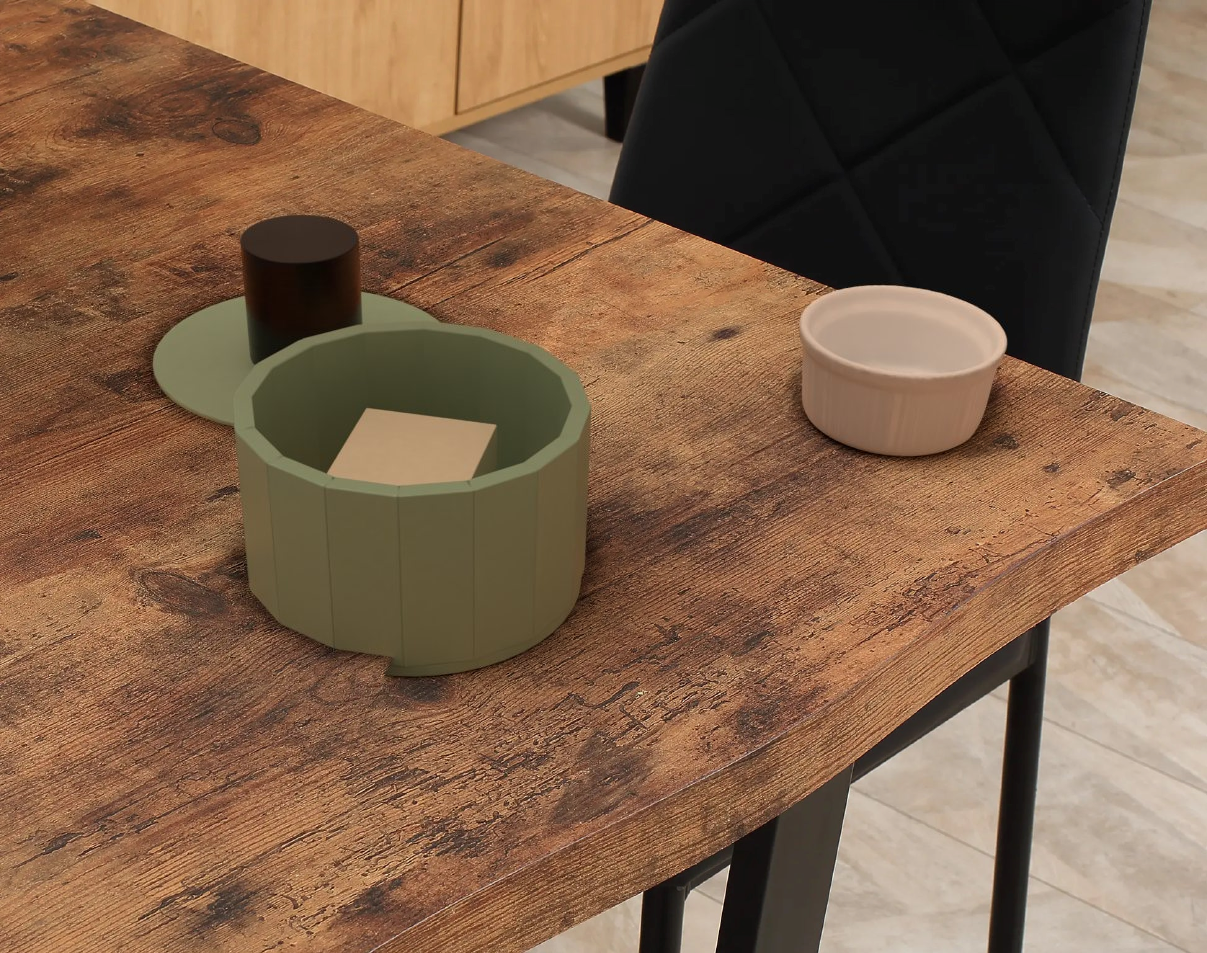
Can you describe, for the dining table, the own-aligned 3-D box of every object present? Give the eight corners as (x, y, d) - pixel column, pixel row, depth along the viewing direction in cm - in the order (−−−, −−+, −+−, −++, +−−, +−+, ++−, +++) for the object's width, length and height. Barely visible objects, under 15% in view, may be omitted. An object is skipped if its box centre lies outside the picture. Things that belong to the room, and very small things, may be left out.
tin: (199, 649, 61) (178, 466, 57) (310, 471, 71) (299, 304, 66) (543, 700, 59) (548, 516, 55) (607, 510, 69) (616, 343, 65)
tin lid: (105, 429, 73) (85, 285, 69) (219, 294, 84) (206, 164, 80) (413, 470, 71) (409, 325, 67) (488, 327, 82) (489, 195, 78)
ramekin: (753, 423, 76) (763, 334, 73) (846, 350, 82) (858, 265, 79) (938, 489, 72) (955, 397, 69) (1021, 407, 78) (1039, 320, 75)
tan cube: (331, 592, 63) (324, 475, 60) (371, 520, 67) (366, 407, 64) (464, 611, 63) (464, 494, 60) (496, 537, 67) (497, 424, 64)
